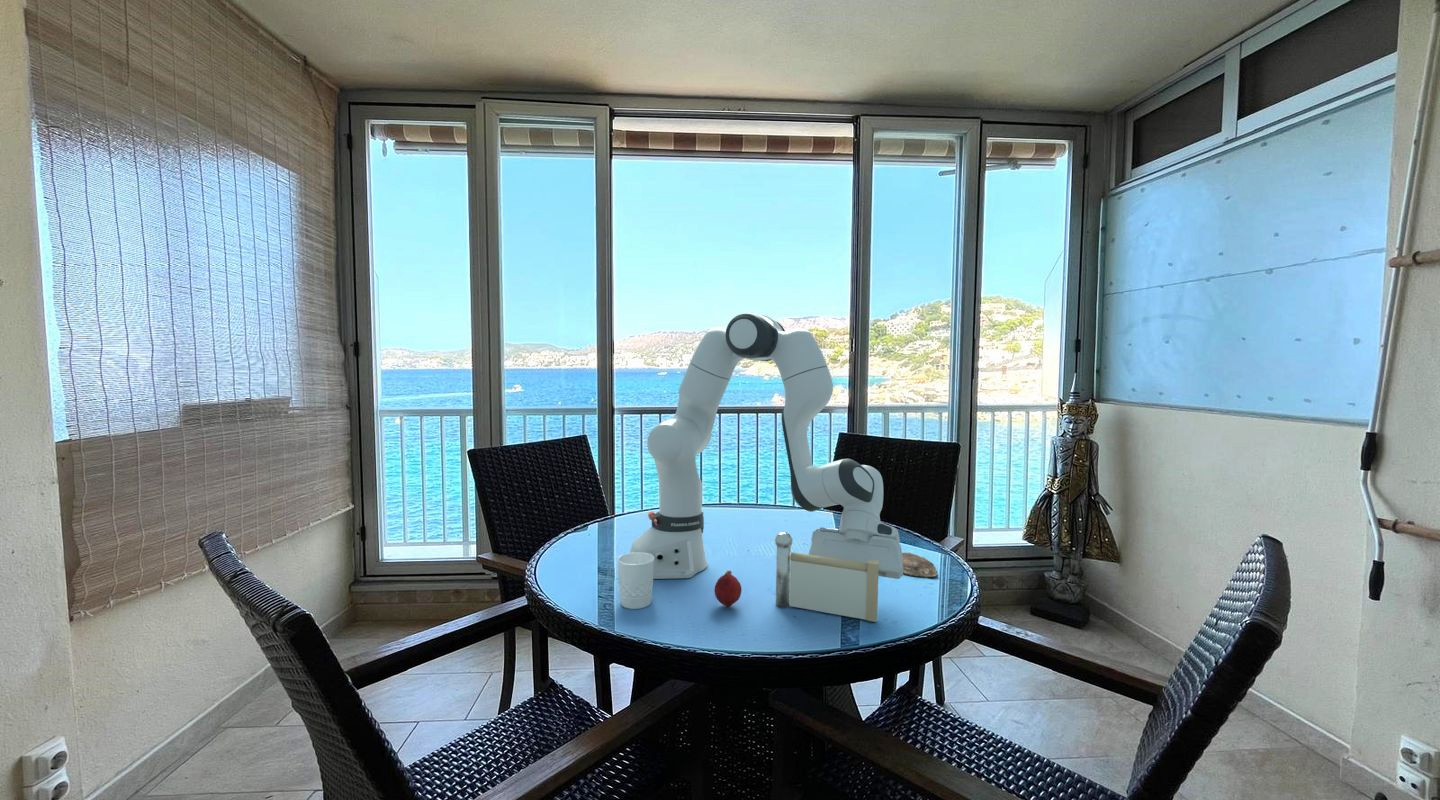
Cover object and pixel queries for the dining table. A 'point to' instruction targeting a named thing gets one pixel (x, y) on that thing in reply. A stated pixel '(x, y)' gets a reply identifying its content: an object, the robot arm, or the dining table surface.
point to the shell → (918, 566)
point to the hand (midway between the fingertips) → (850, 590)
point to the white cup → (636, 579)
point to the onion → (727, 589)
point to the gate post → (783, 569)
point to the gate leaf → (834, 585)
